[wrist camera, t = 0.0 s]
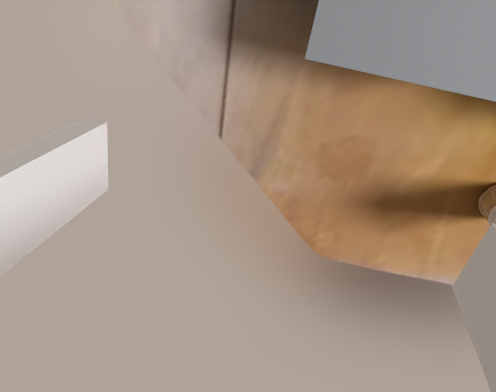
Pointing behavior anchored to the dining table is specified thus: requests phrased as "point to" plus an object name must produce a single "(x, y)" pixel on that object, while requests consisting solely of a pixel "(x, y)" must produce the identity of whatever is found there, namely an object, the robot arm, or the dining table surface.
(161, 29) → the dining table surface
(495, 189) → the sprinkles bottle
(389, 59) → the grey step stool
